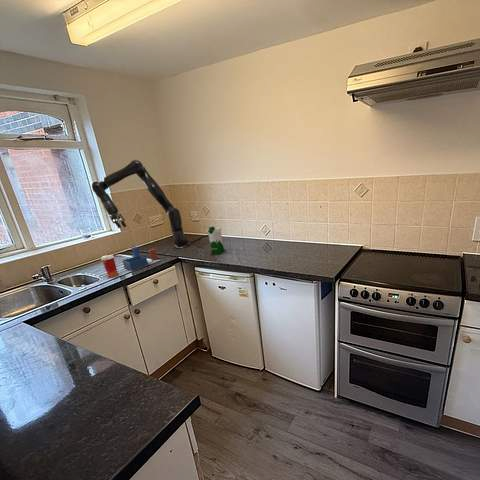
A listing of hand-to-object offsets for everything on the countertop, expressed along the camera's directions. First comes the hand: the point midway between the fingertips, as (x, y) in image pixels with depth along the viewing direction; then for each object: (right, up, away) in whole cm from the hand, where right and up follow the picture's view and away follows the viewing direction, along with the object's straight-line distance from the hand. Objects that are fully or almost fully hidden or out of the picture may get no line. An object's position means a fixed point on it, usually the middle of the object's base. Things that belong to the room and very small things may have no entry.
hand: (122, 227), depth 226 cm
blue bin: (+16, -30, -11) cm, 36 cm away
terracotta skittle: (+24, -24, 0) cm, 34 cm away
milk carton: (+73, -20, -2) cm, 75 cm away
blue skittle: (+5, -22, +12) cm, 26 cm away
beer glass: (+7, -37, -26) cm, 46 cm away
